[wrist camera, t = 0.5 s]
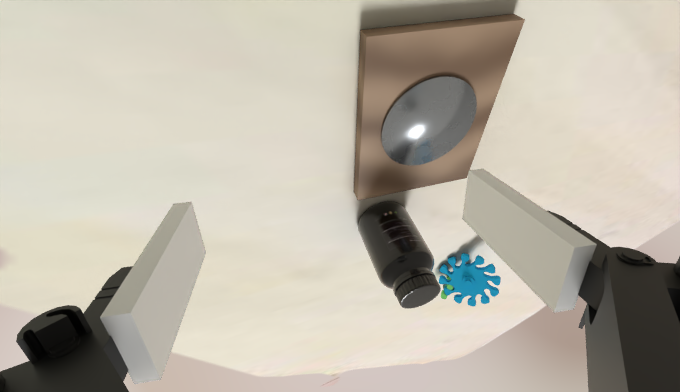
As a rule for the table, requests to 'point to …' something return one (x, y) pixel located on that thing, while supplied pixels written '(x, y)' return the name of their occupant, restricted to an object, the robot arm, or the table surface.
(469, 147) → the walnut board
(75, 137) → the table surface
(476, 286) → the gear
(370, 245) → the supplement bottle
